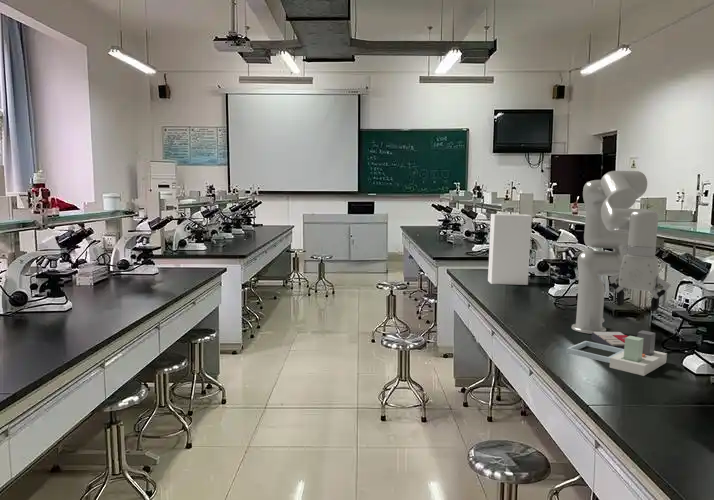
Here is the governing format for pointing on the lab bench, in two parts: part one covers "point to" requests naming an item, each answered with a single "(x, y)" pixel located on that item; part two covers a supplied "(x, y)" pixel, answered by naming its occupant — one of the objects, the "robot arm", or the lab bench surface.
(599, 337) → the calculator
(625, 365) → the power strip
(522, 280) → the storage box
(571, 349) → the light blue square frame
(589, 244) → the robot arm
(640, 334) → the dark gray block
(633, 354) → the sage plug
